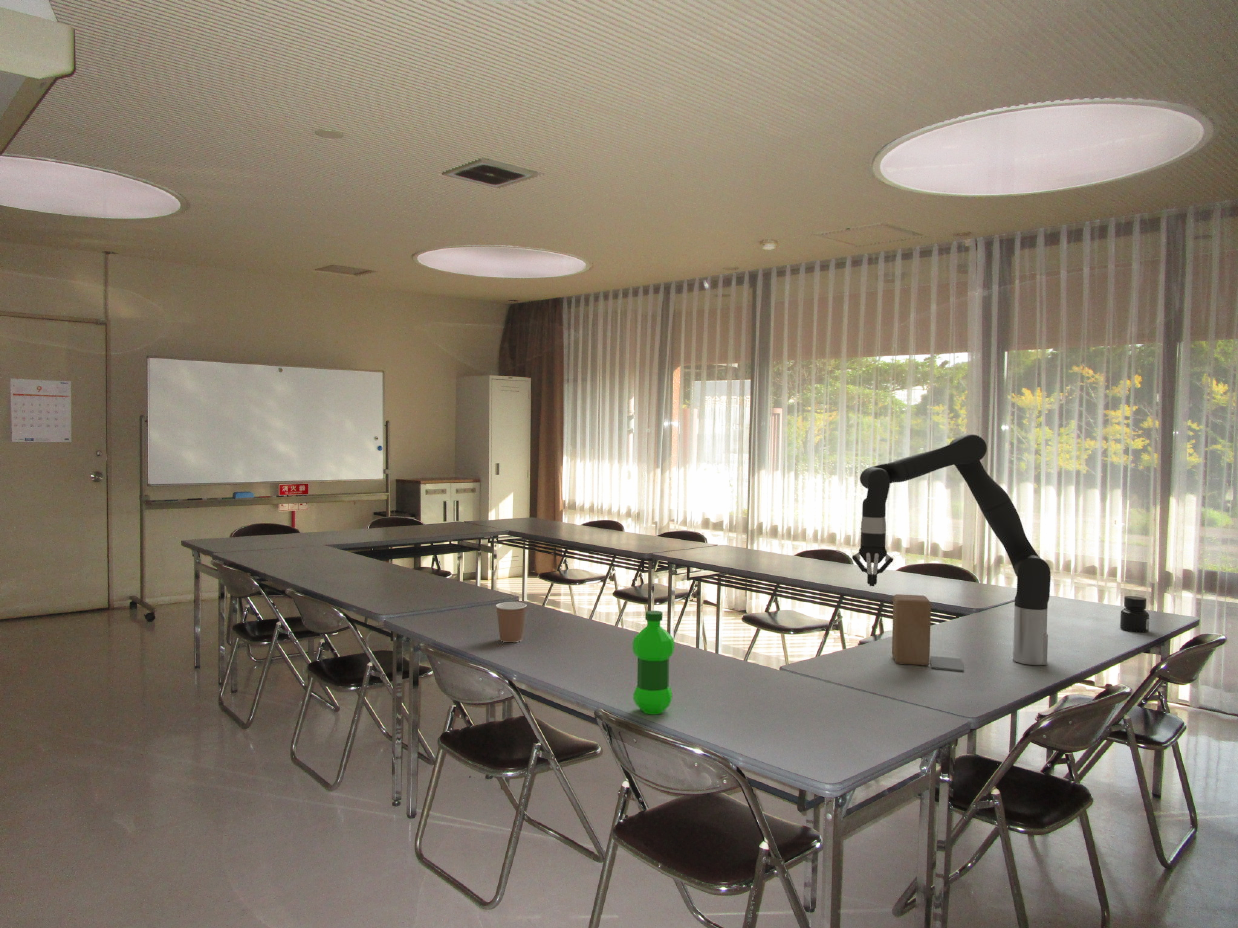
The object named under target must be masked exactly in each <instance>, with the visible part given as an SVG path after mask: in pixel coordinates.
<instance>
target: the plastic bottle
mask: <svg viewBox="0 0 1238 928" xmlns="http://www.w3.org/2000/svg"><path fill="white" fill-rule="evenodd" d="M644 615H645V619H644V620H646V622H647V623H646V626H645V627H644V628H642V630H640V632H638V633H637V635H635V636H634V639H633V641H632V651H633V652H632V653H633V654H634V655H635V656H636V657H637V677H636V678H637V679H636V680H637V681H636V682H637V686H636V687H635V689H634V692H633V696H632V697H633V698H632V699H633V701H634V703H635V705H636V706H637V707H638V708H639V709H640V710H641V711H642V712H643V713H644V714H648V715H658V714H662V713H663V712H664V711H666V709H667V708H668V707H669V706H670V704H671V702H672V700H673V691H672V689H671V687H670V682H669V680H670V658H671V656H672V655H673V654H674V651H675V640H674V637H673V636H672V635H671V634H670V633H669V632H668V631H667V630H665V628H664V627H662V626H661V621H663V611H660V610H647V611H645V612H644Z"/></svg>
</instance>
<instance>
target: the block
mask: <svg viewBox="0 0 1238 928" xmlns="http://www.w3.org/2000/svg"><path fill="white" fill-rule="evenodd" d="M892 600H893V601H892V637H891V638H892V639H891V640H892V641H891V642H892V643H891V655H892V657H893V660H894V661H895V663H896V664H898V665H910V664H911V665H913V666H925V665H926V666H929V664H930V662H931V658H930V656H931V655H930V652H931V622H932V621H931V618H932V604H931V601H930V599H928V597H927V596H925V595H919V594H918V595H917V594H899V593H898V594H897V593H896V594H894V595H893V599H892Z"/></svg>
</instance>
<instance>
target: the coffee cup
mask: <svg viewBox="0 0 1238 928" xmlns="http://www.w3.org/2000/svg"><path fill="white" fill-rule="evenodd" d="M527 606H528V605H527V603H524V602H519V601H505V602H499V603H497V604H495V607H496V613H497V623H498V624H497V625H498V632H499V639H500V642H502V641H503V642H502V643H504V642H517V643H520V642H521V641H522V639H523V634H524V626H525V625H524V624H525V617H526V607H527ZM519 641H520V642H519Z"/></svg>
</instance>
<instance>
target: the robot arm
mask: <svg viewBox="0 0 1238 928" xmlns="http://www.w3.org/2000/svg"><path fill="white" fill-rule="evenodd" d="M987 450H988V445H987V443H986V441H985V439H983V438H982V437H981V436H979V435H977V434H972V433H968V434H964V435H961V436H959V437H956V438H954V439H952V440H951V441H950V442H949V444H947V445H944V446H941V447H939V448H935V449H932V450H928V451H925V452H920V453H917V454H913V455H909V456H906V457H902V458H900V459H896V460H893V461H891V462H888V463H887V462H886V463H883V464H877V465H874V466H869V467H867V468H865V469H864V470H863V471H862V472H861V474H860V475H859V482H860V484H861V486H863V487H864V488H865V489H867V492H866V498H865V499H863V502H862V505H861V506H862V509H861V510H862V511H861V512H862V513H861V516H862V517H861V522H860V523H861V524H860V548H859V549H858V552H857V553H855V554H853V555H852V557H851V558H852V560H853V561H854V563H855V564H856V565H857V567H858V568H859V569H860V570H861V571H860V572H863V573H866V575H867V579H866V583H867V585H869V587H875V585H877V583H878V574H883V573H884V571H885V570H886V569H887V568H888V567H889V566H891V564H892V563H893V561H894V557H892V556H890V555H889V554H888V550H887V549H886V543H887V542H886V540H887V521H886V520H887V519H886V513H887V509H886V507H887V505H886V504H887V500H888V497H889V492H890V486H891V484H892V483H893V484H894V483H902V482H907V481H910V480H913V479H917V478H920V477H922V476H924V475H927V474H929V473H933V472H935V471H937V470H940V469H943V468H947V467H950V466H954V467H955V468H956V470H957V471H958V472H959V474H960V475H961V477H962V478H963V480H964V481H965V482H966V484H967V487H968V488H969V490H970V493H971V494H972V496H973V498H974V500H975V501H976V503H977V504H978V505H977V506H978V507H979V509H980V511H981V513H982V515H983V516H984V519H985V520H986V522H987V523H988V526H989V527H990V529H991V530H992V532H993V533H994V535H995V536H996V537H997V539H998V541H999V542H1000V543H1001V545H1002V547H1003V548H1004V549H1005V552H1006V554H1007V557H1008V558H1009V559H1008V560H1009V561H1010V564H1011V566H1012V569H1013V571H1014V575H1015V576H1016V577H1017V578H1016V594H1015V597H1014V608H1013V609H1014V610H1013V638H1012V640H1013V643H1012V644H1013V645H1012V646H1013V648H1012V660H1013V661H1014V662H1017V663H1020V664H1024V665H1029V666H1030V665H1031V666H1048V646H1049V645H1048V644H1049V643H1048V642H1049V635H1048V632H1047V631H1048V608H1049V607H1048V606H1049V601H1050V595H1051V592H1050V591H1051V576H1052V575H1051V567H1050V565H1049V564H1048V563H1047V561H1045V560H1044V559H1043V558H1041V557H1040V556H1039V554H1038V552H1037V551H1036V550H1035V549H1034V547H1033V545H1032V544H1031V542H1030V541H1029V539H1028V538H1027V537H1028V536H1027V535H1026V533H1025V530H1024V527H1023V523H1022V521H1021V518H1020V516H1019V513H1018V511H1017V509H1016V507H1015V505H1014V503H1013V501H1012V499H1011V498H1010V496H1009V494H1008V493H1007V492H1006V491H1005V489H1003V488H1002V487H1001V485H1000V484H998V483H997V481H995V480H994V479H993V478H992V477H991V476H990V475H989V474H988V472H987V471H986V469H985V468H984V465H983V463H982V461H981V460H982V459H983V458H984V457H985V456H986V455H987ZM861 558H862V560H863V561H864V562H865V563H866V567H865V566H864V564H863V562H862V561H861ZM883 559H884V563H883V565H881V567H880V568H879V564H880V563H881V562H882V561H883ZM872 564H873V567H872Z"/></svg>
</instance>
